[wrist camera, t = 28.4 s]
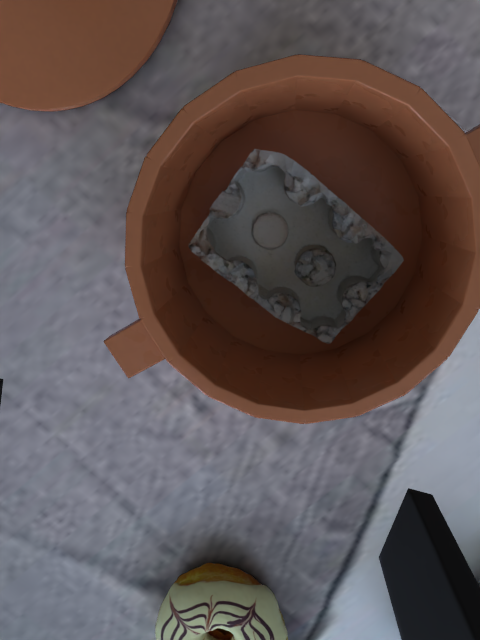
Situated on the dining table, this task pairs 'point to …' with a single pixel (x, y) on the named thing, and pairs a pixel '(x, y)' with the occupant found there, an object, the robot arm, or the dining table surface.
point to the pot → (347, 184)
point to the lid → (74, 48)
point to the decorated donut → (219, 607)
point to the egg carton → (294, 246)
